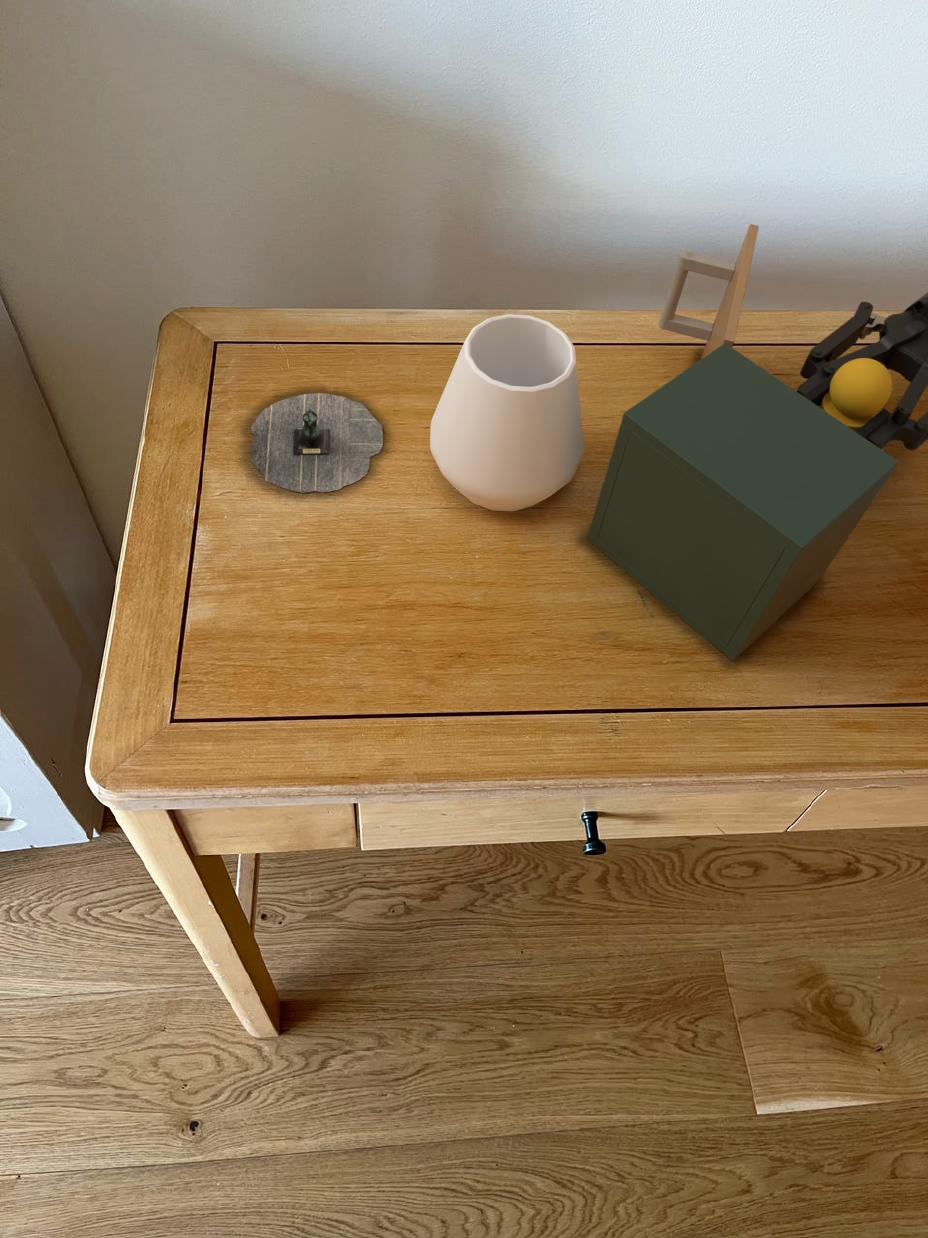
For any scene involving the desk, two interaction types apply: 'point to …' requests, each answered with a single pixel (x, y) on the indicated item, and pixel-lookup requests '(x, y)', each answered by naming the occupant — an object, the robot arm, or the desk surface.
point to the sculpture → (315, 442)
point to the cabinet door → (731, 301)
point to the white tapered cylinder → (510, 414)
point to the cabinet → (732, 496)
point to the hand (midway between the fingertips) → (809, 441)
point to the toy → (857, 392)
